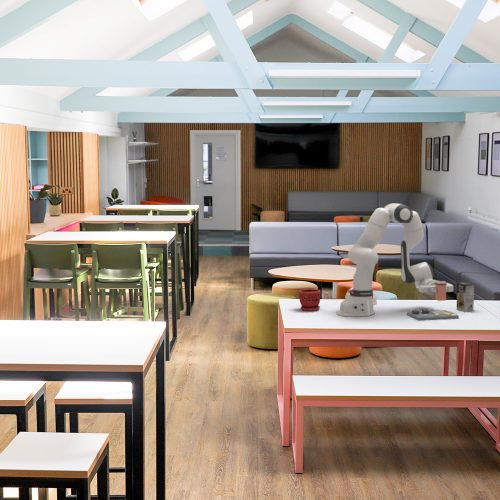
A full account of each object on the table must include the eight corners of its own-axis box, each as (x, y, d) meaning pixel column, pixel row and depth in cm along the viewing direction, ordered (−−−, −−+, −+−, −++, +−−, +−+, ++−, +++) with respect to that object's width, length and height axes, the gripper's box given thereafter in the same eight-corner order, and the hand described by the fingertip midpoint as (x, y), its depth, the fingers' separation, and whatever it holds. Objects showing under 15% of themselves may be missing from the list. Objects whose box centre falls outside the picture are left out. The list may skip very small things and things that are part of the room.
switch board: (418, 320, 432) (418, 314, 431) (406, 314, 448) (406, 309, 448) (458, 318, 436) (458, 312, 436) (445, 312, 453) (445, 307, 453)
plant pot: (320, 308, 473) (320, 288, 471) (320, 312, 460) (320, 292, 458) (299, 307, 474) (299, 288, 473) (298, 311, 461) (298, 291, 460)
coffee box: (455, 309, 464) (456, 282, 463) (465, 308, 466) (465, 281, 465) (464, 311, 456) (465, 284, 454) (474, 311, 458) (474, 284, 456)
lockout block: (438, 300, 442) (438, 283, 441) (434, 299, 447) (434, 282, 446) (446, 300, 443) (446, 283, 442) (442, 299, 448) (442, 281, 447)
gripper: (414, 282, 455) (424, 285, 441) (447, 281, 459) (457, 284, 445) (414, 293, 455) (424, 296, 442) (447, 291, 459) (457, 295, 446)
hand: (441, 290), depth 443 cm, fingers closed on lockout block, 4 cm apart
